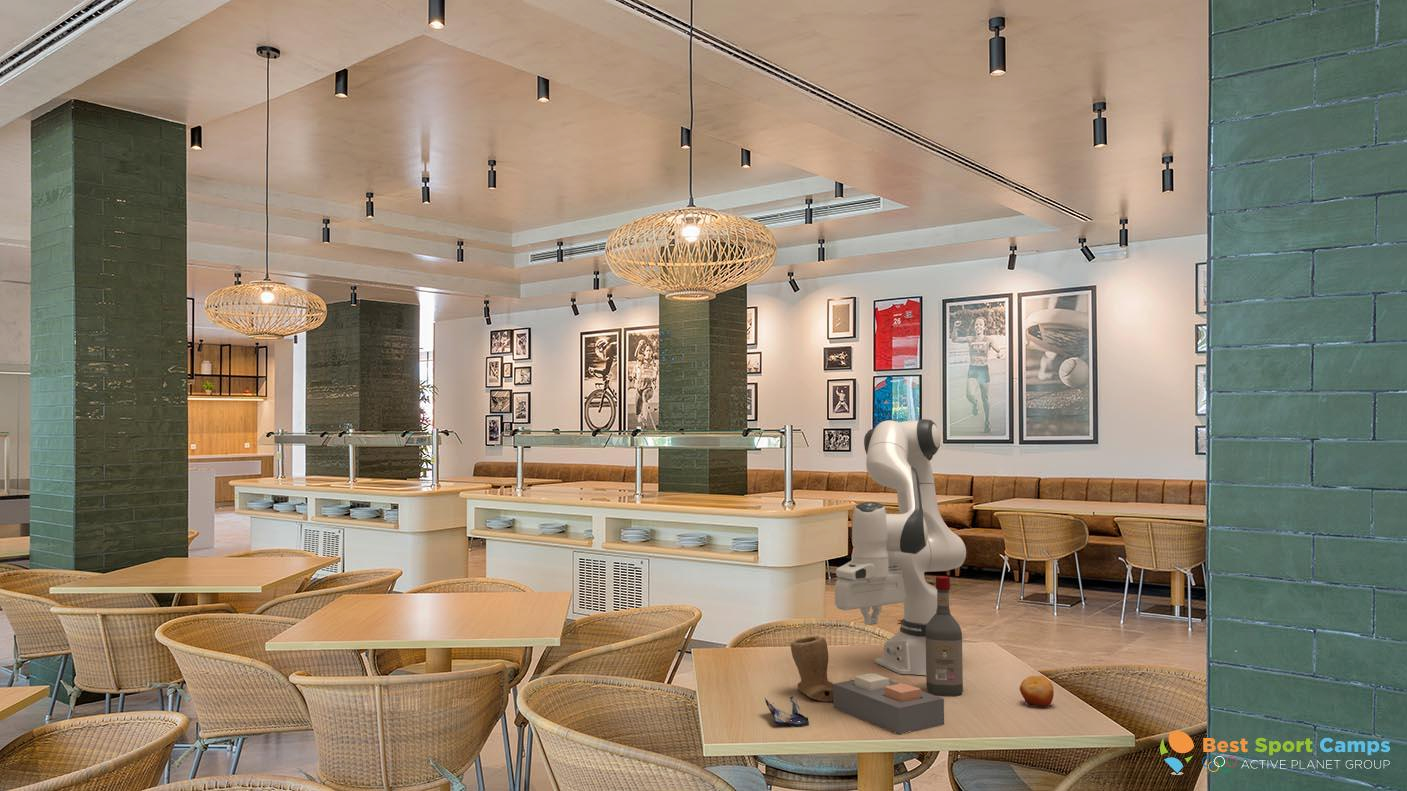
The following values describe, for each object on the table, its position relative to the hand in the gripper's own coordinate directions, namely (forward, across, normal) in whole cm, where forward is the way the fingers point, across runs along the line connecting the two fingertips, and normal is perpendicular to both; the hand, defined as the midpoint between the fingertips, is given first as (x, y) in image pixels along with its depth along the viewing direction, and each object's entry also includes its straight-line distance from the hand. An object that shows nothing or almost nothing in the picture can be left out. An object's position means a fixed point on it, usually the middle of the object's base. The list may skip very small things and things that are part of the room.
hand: (871, 624), depth 236 cm
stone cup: (+21, +4, -18) cm, 28 cm away
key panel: (+21, 0, +6) cm, 22 cm away
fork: (+22, -14, -6) cm, 27 cm away
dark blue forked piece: (+22, +23, -4) cm, 32 cm away
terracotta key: (+16, 0, +11) cm, 20 cm away
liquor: (+21, -27, -2) cm, 34 cm away
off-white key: (+16, 0, 0) cm, 16 cm away
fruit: (+21, -38, +18) cm, 47 cm away
